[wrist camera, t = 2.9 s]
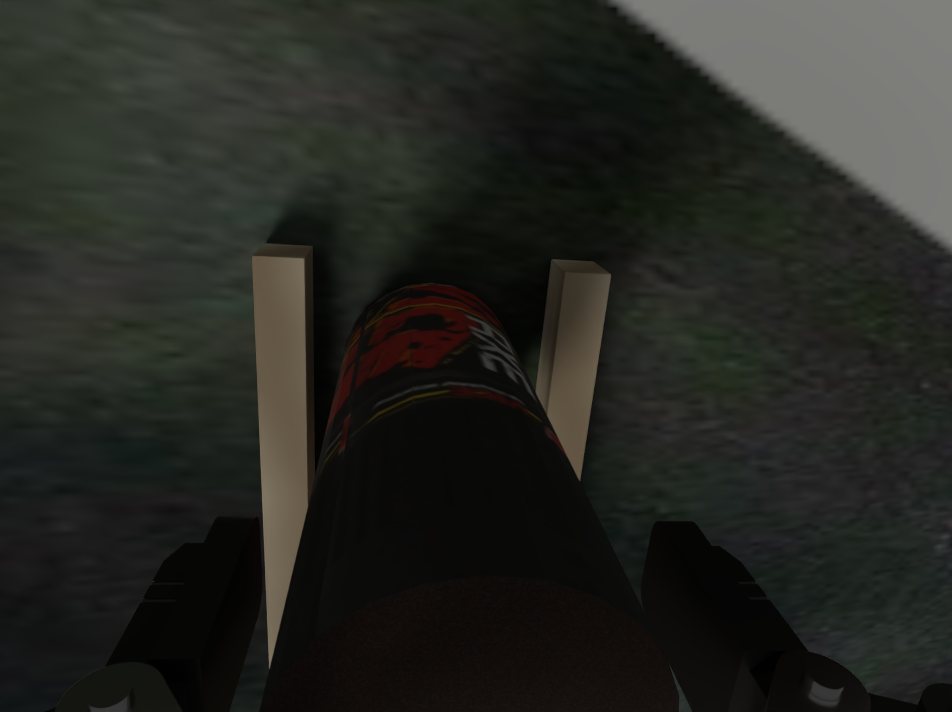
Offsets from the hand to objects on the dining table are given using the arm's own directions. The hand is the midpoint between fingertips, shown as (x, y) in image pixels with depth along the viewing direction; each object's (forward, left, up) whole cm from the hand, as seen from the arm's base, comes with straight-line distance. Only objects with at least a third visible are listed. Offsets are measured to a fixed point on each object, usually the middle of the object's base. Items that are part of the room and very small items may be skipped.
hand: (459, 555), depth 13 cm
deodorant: (0, 0, -11) cm, 11 cm away
